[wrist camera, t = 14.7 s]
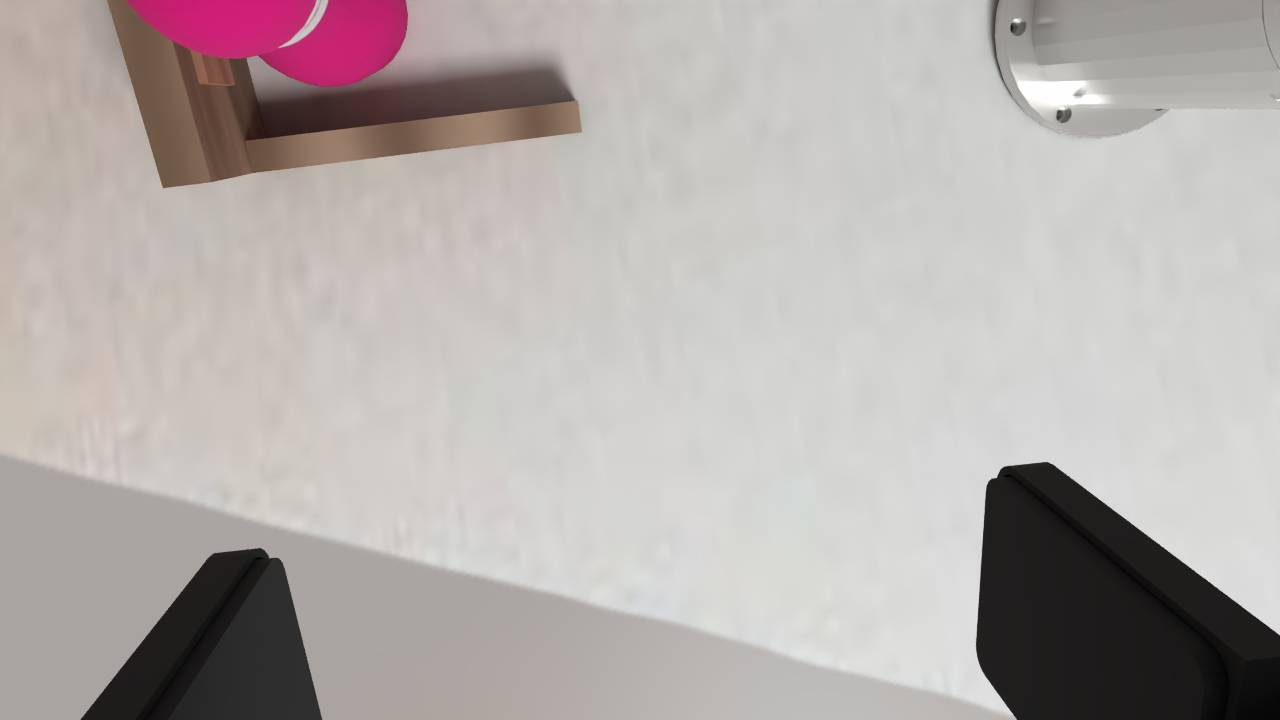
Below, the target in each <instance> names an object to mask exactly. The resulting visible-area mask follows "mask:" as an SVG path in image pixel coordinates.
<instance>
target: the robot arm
mask: <svg viewBox="0 0 1280 720" xmlns="http://www.w3.org/2000/svg"><path fill="white" fill-rule="evenodd" d="M1011 24H1012V26H1013V30H1012V32H1011V30H1010V26H1011ZM995 43H996V52H997V60H998V63H999V66H1000V70H1001V73H1002V76H1003V80H1004V82H1005V84H1006V86H1007V87H1008V89H1009V91H1010V93H1011V95H1012V97H1013V99H1014V100H1015V101H1016V102H1017V103H1018V105H1019V106H1020V107H1021V108H1022V109H1023V110H1024V112H1025V113H1026V114H1027V115H1028V116H1030V117H1031V118H1032V119H1034V120H1035V121H1036V122H1038V123H1039V124H1040V125H1042V126H1044V127H1046V128H1048V129H1050V130H1053V131H1055V132H1057V133H1059V134H1064V135H1069V136H1074V137H1079V138H1105V137H1113V136H1120V135H1123V134H1126V133H1129V132H1132V131H1135V130H1138V129H1140V128H1142V127H1144V126H1146V125H1148V124H1149V123H1151V122H1153V121H1155V120H1157V119H1159V118H1160V117H1161V116H1163V115H1164V114H1165V113H1166V112H1168V111H1169V110H1170V109H1280V0H999V3H998V7H997V11H996V25H995ZM1057 112H1058V115H1057V117H1056V114H1057ZM976 651H977V657H978V661H979V664H980V666H981V669H982V671H983V673H984V674H985V676H986V678H987V679H988V680H989V682H990V683H991V684H992V686H993V687H994V689H995V690H996V691H997V693H998V694H999V696H1000V697H1001V698H1002V700H1003V701H1004V702H1005V704H1006V705H1007V707H1008V708H1009V709H1010V711H1011V712H1012V713H1013V715H1014V716H1015V718H1016V719H1017V720H1280V635H1279V634H1277V633H1276V632H1275V631H1273V630H1272V629H1271V628H1269V627H1268V626H1267V625H1265V624H1264V623H1263V622H1261V621H1260V620H1259V619H1257V618H1256V617H1255V616H1253V615H1252V614H1251V613H1249V612H1248V611H1247V610H1245V609H1244V608H1243V607H1241V606H1240V605H1239V604H1237V603H1236V602H1235V601H1233V600H1232V599H1231V598H1229V597H1228V596H1227V595H1225V594H1224V593H1223V592H1221V591H1220V590H1219V589H1218V588H1216V587H1215V586H1214V585H1212V584H1211V583H1210V582H1208V581H1207V580H1206V579H1204V578H1203V577H1202V576H1200V575H1199V574H1198V573H1196V572H1195V571H1194V570H1192V569H1191V568H1190V567H1188V566H1187V565H1186V564H1184V563H1183V562H1182V561H1180V560H1179V559H1178V558H1176V557H1175V556H1174V555H1172V554H1171V553H1170V552H1168V551H1167V550H1166V549H1164V548H1163V547H1162V546H1160V545H1159V544H1158V543H1156V542H1155V541H1154V540H1152V539H1151V538H1150V537H1148V536H1147V535H1146V534H1144V533H1143V532H1142V531H1140V530H1139V529H1138V528H1136V527H1135V526H1134V525H1132V524H1131V523H1130V522H1128V521H1127V520H1126V519H1124V518H1123V517H1122V516H1120V515H1119V514H1118V513H1116V512H1115V511H1114V510H1112V509H1111V508H1110V507H1108V506H1107V505H1106V504H1105V503H1103V502H1102V501H1101V500H1099V499H1098V498H1097V497H1095V496H1094V495H1093V494H1091V493H1090V492H1089V491H1087V490H1086V489H1085V488H1083V487H1082V486H1081V485H1079V484H1078V483H1077V482H1075V481H1074V480H1073V479H1071V478H1070V477H1069V476H1067V475H1066V474H1065V473H1063V472H1062V471H1061V470H1059V469H1058V468H1057V467H1055V466H1054V465H1052V464H1050V463H1048V462H1042V463H1033V464H1024V465H1015V466H1006V467H1003V468H1002V469H1001V470H1000V472H999V474H998V476H997V478H994V479H991V480H990V481H989V482H988V484H987V488H986V499H985V515H984V530H983V546H982V561H981V576H980V592H979V607H978V623H977V638H976ZM81 720H322V717H321V713H320V709H319V705H318V701H317V697H316V693H315V689H314V685H313V681H312V677H311V673H310V669H309V665H308V661H307V657H306V653H305V649H304V645H303V641H302V637H301V633H300V629H299V625H298V621H297V617H296V612H295V608H294V604H293V600H292V597H291V592H290V589H289V584H288V581H287V576H286V572H285V569H284V566H283V563H282V562H281V560H280V559H278V558H269V556H268V554H267V553H266V552H265V551H264V550H263V549H261V548H258V549H249V550H239V551H231V552H222V553H214V554H212V556H210V557H209V558H208V559H207V560H206V562H205V563H204V564H203V565H202V567H201V568H200V569H199V571H198V572H197V573H196V574H195V576H194V577H193V578H192V579H191V581H190V582H189V583H188V584H187V586H186V587H185V588H184V589H183V591H182V592H181V593H180V595H179V596H178V597H177V598H176V600H175V601H174V602H173V603H172V605H171V606H170V607H169V608H168V610H167V611H166V613H165V614H164V615H163V616H162V617H161V619H160V620H159V621H158V622H157V624H156V625H155V626H154V627H153V629H152V630H151V631H150V633H149V634H148V635H147V636H146V638H145V639H144V640H143V641H142V643H141V644H140V645H139V646H138V648H137V649H136V650H135V652H134V653H133V654H132V655H131V657H130V658H129V659H128V660H127V662H126V663H125V664H124V666H123V667H122V668H121V669H120V671H119V672H118V673H117V674H116V676H115V677H114V678H113V679H112V681H111V682H110V683H109V684H108V686H107V687H106V688H105V689H104V691H103V692H102V693H101V695H100V696H99V697H98V698H97V700H96V701H95V702H94V704H93V705H92V706H91V707H90V709H89V710H88V711H87V712H86V714H85V715H84V716H83V717H82V719H81Z"/></svg>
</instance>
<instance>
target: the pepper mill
mask: <svg viewBox="0 0 1280 720" xmlns="http://www.w3.org/2000/svg"><path fill="white" fill-rule="evenodd" d="M126 1H127V2H128V4H129V5H130V6H131V7H132V9H133V10H134V11H135V12H136V13H137V14H138V15H139V16H140V17H141V18H142V19H143V20H144V21H145V22H146V23H147V24H148V25H150V26H151V27H152V28H154V29H155V30H156V31H158V32H159V33H160V34H162V35H163V36H164V37H166V38H167V39H169V40H171V41H173V42H175V43H177V44H179V45H181V46H183V47H185V48H187V49H190V50H193V51H195V52H198V53H201V54H204V55H208V56H213V57H218V58H231V59H239V58H248V57H252V56H256V55H258V56H259V57H260V58H262V59H263V60H264V61H265V62H266V63H267V64H268V65H269V66H271V67H273V68H274V69H276V70H278V71H279V72H281V73H283V74H284V75H286V76H288V77H290V78H293V79H296V80H298V81H301V82H304V83H307V84H311V85H317V86H322V87H337V86H344V85H349V84H352V83H355V82H358V81H361V80H362V79H364V78H366V77H368V76H370V75H371V74H373V73H375V72H377V71H379V70H380V69H382V68H384V67H385V66H386V65H387V64H388V63H390V62H391V61H392V60H393V58H394V57H395V56H396V54H397V53H398V51H399V50H400V48H401V45H402V43H403V41H404V38H405V35H406V30H407V20H408V13H407V6H406V1H405V0H126Z"/></svg>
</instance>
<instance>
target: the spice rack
mask: <svg viewBox="0 0 1280 720" xmlns="http://www.w3.org/2000/svg"><path fill="white" fill-rule="evenodd" d="M108 4H109V7H110V11H111V14H112V17H113V21H114V24H115V27H116V31H117V34H118V38H119V41H120V44H121V48H122V51H123V54H124V58H125V61H126V65H127V68H128V71H129V75H130V78H131V82H132V85H133V88H134V92H135V95H136V98H137V102H138V105H139V109H140V112H141V115H142V119H143V122H144V125H145V129H146V132H147V136H148V139H149V142H150V146H151V149H152V152H153V156H154V159H155V163H156V166H157V169H158V173H159V176H160V179H161V183H162V186H163V188H168V187H176V186H184V185H192V184H200V183H208V182H214V181H218V180H223V179H228V178H232V177H237V176H241V175H246V174H250V173H256V172H264V171H272V170H280V169H289V168H297V167H305V166H313V165H321V164H329V163H337V162H345V161H353V160H361V159H369V158H377V157H385V156H393V155H401V154H410V153H418V152H426V151H434V150H442V149H450V148H458V147H466V146H474V145H482V144H490V143H498V142H506V141H514V140H523V139H531V138H539V137H547V136H555V135H563V134H571V133H579V132H582V130H581V123H580V115H579V107H578V101H570V102H562V103H553V104H545V105H537V106H529V107H520V108H512V109H504V110H496V111H488V112H479V113H471V114H463V115H455V116H446V117H438V118H430V119H422V120H413V121H405V122H397V123H389V124H381V125H372V126H364V127H356V128H348V129H339V130H331V131H323V132H315V133H306V134H298V135H290V136H282V137H273V138H266V135H265V131H264V127H263V123H262V119H261V115H260V111H259V107H258V103H257V99H256V95H255V91H254V87H253V83H252V79H251V75H250V71H249V67H248V63H247V59H246V58H239V59H231V58H218V57H213V56H208V55H204V54H201V53H198V52H195V51H193V50H190V49H187V48H185V47H183V46H181V45H179V44H177V43H175V42H173V41H171V40H169V39H167V38H166V37H164V36H163V35H162V34H160V33H159V32H158V31H156V30H155V29H154V28H152V27H151V26H150V25H148V24H147V23H146V22H145V21H144V20H143V19H142V18H141V17H140V16H139V15H138V14H137V13H136V12H135V11H134V10H133V9H132V7H131V6H130V5H129V4H128V2H127V1H126V0H108Z"/></svg>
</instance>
